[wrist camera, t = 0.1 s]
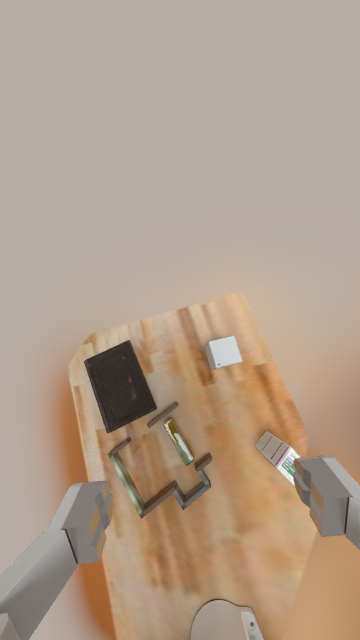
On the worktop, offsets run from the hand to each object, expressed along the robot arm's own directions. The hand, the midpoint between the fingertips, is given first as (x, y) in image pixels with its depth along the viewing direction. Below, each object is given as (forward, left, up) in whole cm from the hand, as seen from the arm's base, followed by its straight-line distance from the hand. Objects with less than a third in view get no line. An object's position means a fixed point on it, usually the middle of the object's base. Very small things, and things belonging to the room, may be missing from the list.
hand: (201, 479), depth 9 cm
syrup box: (-25, -9, -54) cm, 61 cm away
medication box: (-9, +11, -55) cm, 56 cm away
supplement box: (+3, -13, -55) cm, 56 cm away
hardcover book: (+14, +17, -55) cm, 59 cm away
